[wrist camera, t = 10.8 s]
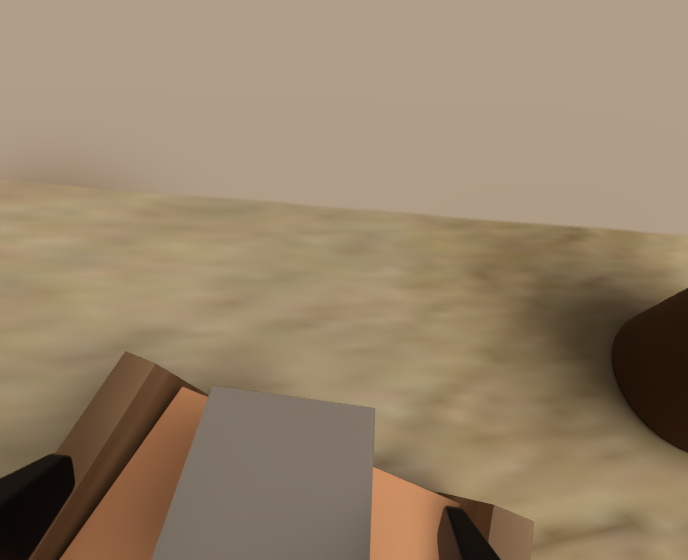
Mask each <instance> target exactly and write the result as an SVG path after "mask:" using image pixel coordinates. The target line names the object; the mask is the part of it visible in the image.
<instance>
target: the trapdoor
mask: <svg viewBox="0 0 688 560" xmlns="http://www.w3.org/2000/svg"><path fill="white" fill-rule="evenodd" d="M207 400H208V397H206V396H204V395H201V394H199V393H197V392H194V391H192V390H190V389H187V388H185V387H182V388H181V389H180V391H179V392H178V393H177V395H176V396H175V398H174V399H173V401H172V402H171V403H170V405H169V406H168V408H167V409H166V410H165V412H164V413H163V415H162V416H161V417H160V419H159V420H158V422H157V423H156V424H155V426H154V427H153V429H152V430H151V431H150V433H149V434H148V436H147V437H146V439H145V440H144V441H143V443H142V444H141V446H140V447H139V448H138V450H137V451H136V453H135V454H134V455H133V457H132V458H131V460H130V461H129V462H128V464H127V465H126V467H125V468H124V470H123V471H122V472H121V474H120V475H119V477H118V478H117V479H116V481H115V482H114V484H113V485H112V486H111V488H110V489H109V491H108V492H107V493H106V495H105V496H104V498H103V499H102V500H101V502H100V503H99V505H98V506H97V508H96V509H95V510H94V512H93V513H92V515H91V516H90V517H89V519H88V520H87V522H86V523H85V524H84V526H83V527H82V529H81V530H80V531H79V533H78V534H77V536H76V537H75V539H74V540H73V541H72V543H71V544H70V546H69V547H68V548H67V550H66V551H65V553H64V554H63V555H62V557H61V558H60V560H151V559H152V556H153V553H154V550H155V547H156V545H157V542H158V539H159V536H160V533H161V530H162V528H163V525H164V522H165V519H166V516H167V513H168V510H169V508H170V505H171V502H172V499H173V496H174V493H175V491H176V488H177V485H178V482H179V479H180V476H181V474H182V471H183V468H184V465H185V462H186V459H187V456H188V454H189V451H190V448H191V445H192V442H193V439H194V437H195V434H196V431H197V428H198V425H199V422H200V420H201V417H202V414H203V411H204V408H205V405H206V402H207ZM445 506H455V507H459V503H457V502H455V501H452V500H450V499H448V498H445V497H443V496H441V495H438V494H436V493H434V492H431V491H429V490H426V489H424V488H422V487H419V486H417V485H415V484H412V483H410V482H407V481H405V480H403V479H400V478H398V477H396V476H393V475H391V474H389V473H386V472H384V471H381V470H379V469H377V468H374V467H373V483H372V511H371V540H370V560H439V554H438V544H437V532H438V527H439V523H440V519H441V515H442V511H443V508H444V507H445Z"/></svg>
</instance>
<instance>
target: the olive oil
mask: <svg viewBox="0 0 688 560" xmlns="http://www.w3.org/2000/svg"><path fill="white" fill-rule="evenodd" d="M613 365H614V370H615V374H616V377H617V380H618V383H619V385H620V388H621V390H622V392H623V393H624V395H625V397H626V399H627V400H628V402H629V403H630V405H631V406H632V408H633V409H634V410H635V412H636V413H637V414H638V415H639V416H640V417H641V419H642V420H643V421H644V422H645V423H646V424H647V425H648V426H649V427H650V428H652V429H653V430H654V431H655V432H656V433H658V434H659V435H660V436H661V437H663V438H664V439H666V440H667V441H669V442H670V443H672V444H674V445H675V446H677V447H679V448H681V449H683V450H685V451H688V288H687V289H685V290H683V291H681V292H679V293H677V294H676V295H674V296H672V297H670V298H668V299H666V300H664V301H663V302H661V303H659V304H657V305H655V306H653V307H651V308H649V309H648V310H646V311H644V312H642V313H640V314H638V315H637V316H635V317H633V318H632V319H630V320H629V321H628V322H626V323H625V324H624V325H623V326H622V328H621V329H620V330H619V332H618V334H617V336H616V338H615V341H614V345H613Z"/></svg>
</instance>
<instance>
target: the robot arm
mask: <svg viewBox="0 0 688 560" xmlns="http://www.w3.org/2000/svg"><path fill="white" fill-rule="evenodd" d="M74 486H75V474H74V467H73V460H72V458H71V456H69V455H65V454H57V453H53V454H49V455H47V456H45V457H43V458H41V459H39V460H37V461H35V462H33V463H31V464H29V465H27V466H25V467H23V468H21V469H19V470H17V471H15V472H13V473H11V474H9V475H7V476H5V477H3V478H1V479H0V560H29V558H30V557H31V555H32V554H33V552H34V551H35V549H36V548H37V546H38V544H39V543H40V541H41V540H42V538H43V537H44V535H45V534H46V532H47V531H48V529H49V527H50V526H51V524H52V523H53V521H54V520H55V518H56V517H57V515H58V513H59V512H60V510H61V509H62V507H63V506H64V504H65V503H66V501H67V499H68V498H69V496H70V495H71V493H72V491H73V489H74ZM437 544H438V554H439V560H501V559H500V557H499V556H498V555H497V553H496V552H495V551H494V549H493V548H492V547H491V545H490V544H489V543H488V541H487V540H486V539H485V537H484V536H483V535H482V533H481V532H480V531H479V529H478V528H477V527H476V525H475V524H474V523H473V521H472V520H471V519H470V517H469V516H468V514H467V513H466V512H465V511H464V510H463V509H462V508H461V507H455V506H445V507H444V508H443V511H442V515H441V519H440V523H439V527H438V532H437Z"/></svg>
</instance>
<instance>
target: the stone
mask: <svg viewBox="0 0 688 560" xmlns="http://www.w3.org/2000/svg"><path fill="white" fill-rule="evenodd" d="M374 425H375V408H370V407H363V406H355V405H348V404H341V403H334V402H327V401H320V400H312V399H305V398H298V397H291V396H284V395H276V394H269V393H262V392H255V391H248V390H241V389H233V388H226V387H219V386H212V388H211V391H210V394H209V397H208V400H207V402H206V405H205V408H204V411H203V414H202V417H201V420H200V422H199V425H198V428H197V431H196V434H195V437H194V439H193V442H192V445H191V448H190V451H189V454H188V456H187V459H186V462H185V465H184V468H183V471H182V474H181V476H180V479H179V482H178V485H177V488H176V491H175V493H174V496H173V499H172V502H171V505H170V508H169V510H168V513H167V516H166V519H165V522H164V525H163V528H162V530H161V533H160V536H159V539H158V542H157V545H156V547H155V550H154V553H153V556H152V559H151V560H370V540H371V511H372V483H373V454H374Z"/></svg>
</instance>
